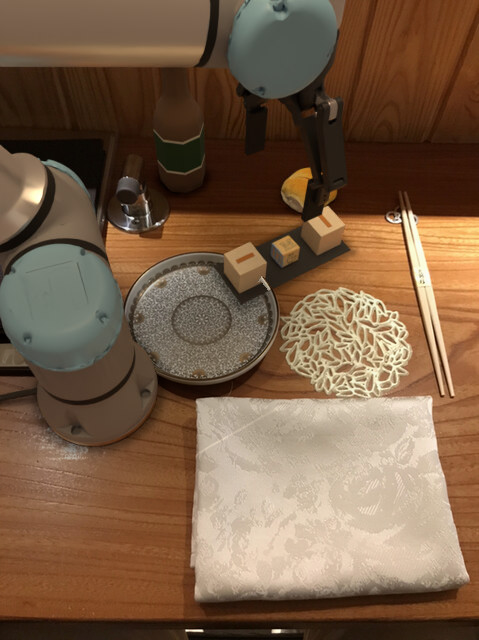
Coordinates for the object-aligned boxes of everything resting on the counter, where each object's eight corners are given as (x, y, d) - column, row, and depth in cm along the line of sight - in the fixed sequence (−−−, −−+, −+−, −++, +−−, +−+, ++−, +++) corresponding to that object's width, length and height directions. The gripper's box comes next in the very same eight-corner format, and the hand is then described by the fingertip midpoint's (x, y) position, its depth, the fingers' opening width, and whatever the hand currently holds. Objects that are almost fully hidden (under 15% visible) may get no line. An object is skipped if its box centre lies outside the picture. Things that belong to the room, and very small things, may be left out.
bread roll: (344, 193, 94) (348, 175, 91) (310, 222, 91) (313, 205, 87) (306, 169, 97) (309, 150, 94) (271, 196, 93) (273, 178, 90)
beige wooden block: (317, 255, 86) (321, 236, 83) (300, 236, 88) (303, 216, 85) (340, 244, 88) (345, 224, 84) (323, 225, 90) (328, 205, 86)
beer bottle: (215, 174, 96) (212, 40, 75) (188, 202, 92) (178, 69, 72) (177, 156, 98) (165, 21, 78) (150, 183, 94) (130, 49, 74)
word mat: (241, 306, 82) (241, 304, 81) (213, 268, 85) (213, 266, 85) (350, 251, 88) (351, 250, 87) (320, 218, 91) (321, 216, 91)
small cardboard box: (239, 293, 82) (240, 275, 78) (223, 272, 84) (223, 253, 80) (265, 281, 84) (267, 262, 80) (249, 260, 86) (250, 241, 82)
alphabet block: (270, 255, 86) (271, 242, 84) (286, 247, 87) (288, 234, 85) (281, 268, 85) (283, 256, 82) (298, 260, 86) (300, 247, 83)
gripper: (414, 81, 51) (362, 235, 69) (267, -43, 62) (255, 118, 80) (348, 106, 49) (312, 259, 67) (207, -27, 60) (209, 135, 78)
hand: (281, 182), depth 73 cm, fingers open, 13 cm apart
